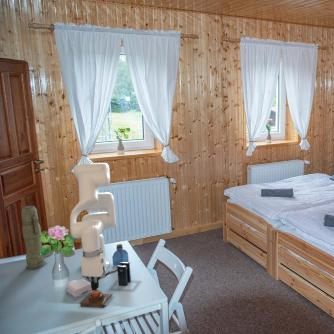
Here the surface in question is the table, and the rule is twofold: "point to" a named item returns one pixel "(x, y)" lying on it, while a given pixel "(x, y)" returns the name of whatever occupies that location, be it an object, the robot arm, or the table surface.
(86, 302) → the button block
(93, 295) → the button
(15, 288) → the table surface
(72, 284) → the pale pink block
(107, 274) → the lever
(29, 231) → the stone head statue
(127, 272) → the tap bracket
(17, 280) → the table surface
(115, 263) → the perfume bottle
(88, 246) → the robot arm
